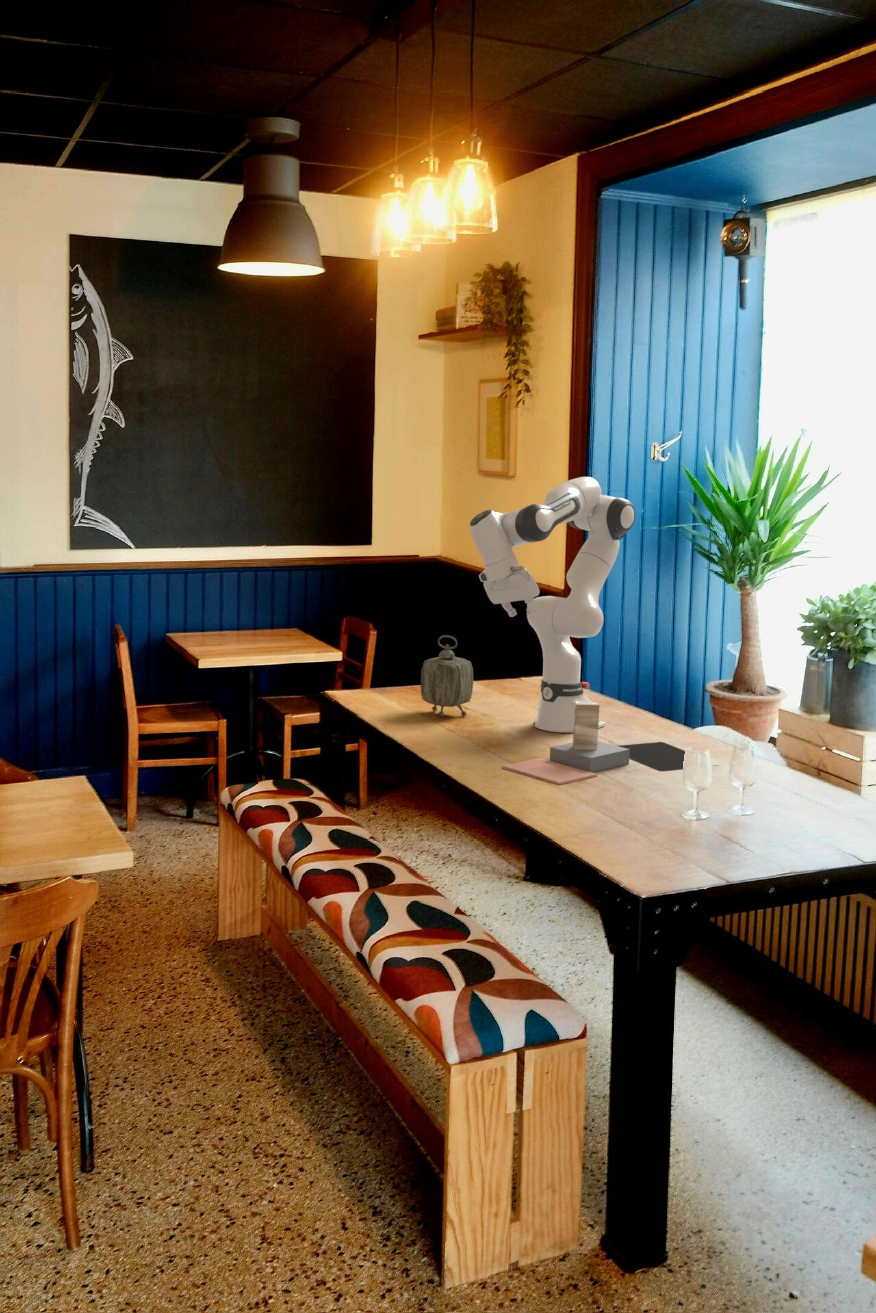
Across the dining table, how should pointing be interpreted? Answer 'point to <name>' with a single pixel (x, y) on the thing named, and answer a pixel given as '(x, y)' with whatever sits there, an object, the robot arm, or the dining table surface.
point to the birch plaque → (586, 726)
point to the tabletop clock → (447, 680)
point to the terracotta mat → (549, 771)
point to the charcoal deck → (590, 756)
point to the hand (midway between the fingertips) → (522, 614)
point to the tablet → (657, 755)
